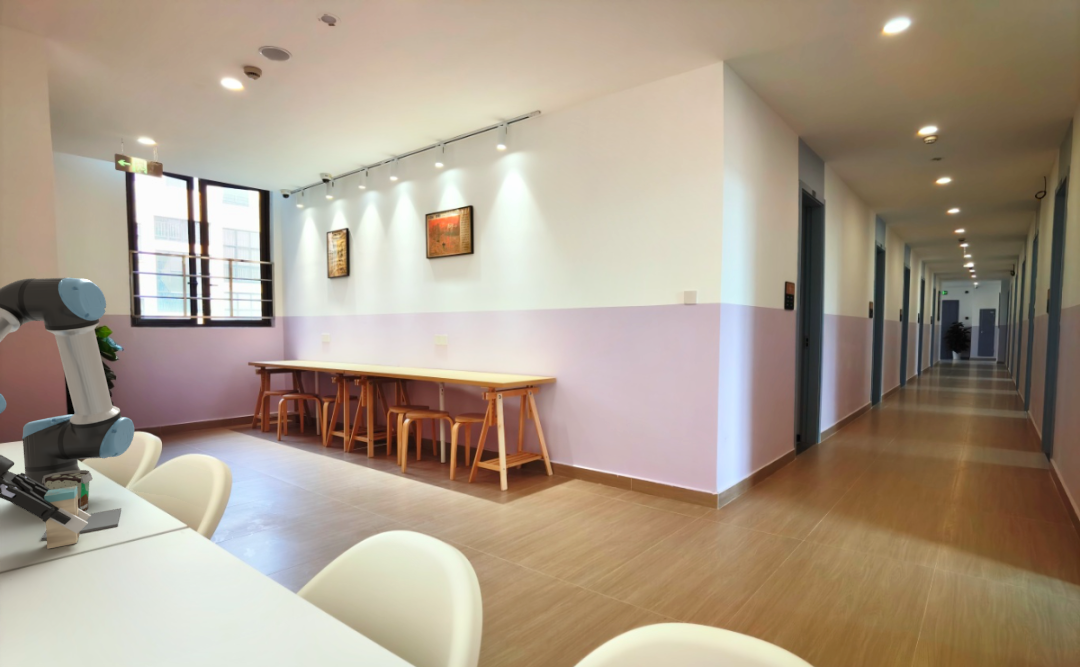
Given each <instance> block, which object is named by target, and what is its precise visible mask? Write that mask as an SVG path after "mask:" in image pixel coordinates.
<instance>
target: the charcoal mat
mask: <svg viewBox="0 0 1080 667" xmlns="http://www.w3.org/2000/svg"><path fill="white" fill-rule="evenodd" d="M121 513H122V508H121V507H120V508H115V509H108V510H104V511H98V512H93V513H92V512H91V513H89V514H90V515H91V516H90V517H89V518H88V519H87V520H86V522H88V524H87V525H86V526H85V527H84V528H83V529H82V530H81V531H80V532H79V535H81V534H85V533H91V532H95V531H99V530H105V529H110V528H115V527H119V522H120V519H121V518H120V517H121ZM40 539H41V541H42V542H43V541H47V533H46V530H45V531H44V533H43V535H42V537H41V538H40Z"/></svg>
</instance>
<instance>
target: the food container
mask: <svg viewBox="0 0 1080 667" xmlns="http://www.w3.org/2000/svg"><path fill="white" fill-rule="evenodd" d="M91 481H93V476H92V473H91V472H90V470H87V469H80V470H74V471H65V472H59V473H53V474H49V475H45V476H43V480H42V483H44V485H45V487H47V488H49V489H51V490H54V489H60V488H67V487H73V486H77V491H78V493H77V497H78V508H79V509H81V510H82V511H84V512H86V511H87V510H88V508H89V495H90V494H89V493H90V482H91Z"/></svg>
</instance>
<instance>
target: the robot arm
mask: <svg viewBox="0 0 1080 667" xmlns="http://www.w3.org/2000/svg"><path fill="white" fill-rule="evenodd" d="M106 308H107V301H106V297H105V294H104V293H103V291H102V290H101V288H100V286H98V285H97V284H96V283H94V282H93V281H91V280H89V279H86V278H75V277H53V278H52V277H51V278H24V279H18V280H16V281H13V282H11V283H8V284H6V285H4V286H2V287H0V343H1V342H2V341H3V340H4V339H5V337H6V336H7V335H8V334H11V333H14V332H17V331H18V330H19V329H20V328H21V326H23V325H24V324H26V323H30V322H34V321H35V322H40V321H41V322H43V324H44V328H45V331H47V332H49V333H51V334H53V335H54V339H55V342H56V345H57V349H58V352H59V355H60V356H59V357H60V360H61V364H62V370H63V372H64V375H65V380H66V384H67V388H68V391H69V392H68V393H69V395H70V399H71V403H72V407H73V411H74V414H64V415H58V416H52V417H47V418H42V419H38V420H33V421H29V422H27V423H25V424H24V426H23V428H22V429H23V430H22V437H21V438H22V446H23V449H22V450H23V462H24V472H21V473H17V474H16V473H14V472H11V471H9V470H10V469H11V468H12V467H14V465H15V462H14V461H13V460H11V459H9V458H8V457H6V456H4V455H3V454H0V499H2V500H5V501H7V502H10V503H12V504H13V505H15V506H17V507H19V508H21V509H23V510H25V511H26V512H28V513H30V514H32V515H34V516H35V517H37V518H38V519H39V518H40V519H41V520H42V522H45V523H46V521H47V520H48V519H51V520H53V521H55V522H56V523H58V524H60V525H62V526H64V527H66V528H68V529H69V530H71V531H73V532H75V533H77V534H78V533H79V532H80V531H81V530H82V529H83V528H84V527H85V526H86V525H87V524H88V522H86V520H87V519H88V518H89V517H90V516H91V515H90V514H91V513H87V512H86V511H82V510H81V509H79V508H78V517H77V516H75V515H74V514H72V513H70V512H68V511H66V510H65V509H63V508H60V509H58V507H56V506H54V505H53V504H51V503H50V502H48V501H46V500H45V499H44V496H45V494H46V493H47V491H48V490H51V489H49V488H47V487H45V485H44V483H42V480H43V476H45V475H49V474H53V473H59V472H65V471H74V470H81V469H80V466H79V463H78V461H79V460H82V459H83V460H85V459H86V460H87V459H107V458H114V457H119V456H120V457H121V455H123V454H124V453H125V452H127V450H128V449H129V448H130V446H131V444H132V442H133V440H134V435H135V424H134V422H133V420H132V419H131V418H129V417H126V416H122V412H121V409H120V407H118V406H115V405H113V402H112V399H111V396H110V395H111V394H110V389H109V386H108V382H107V377H106V374H105V370H104V364H103V360H102V355H101V353H100V347H99V344H98V340H97V336H96V330H95V329H96V328H97V327H98V326H99V325H100V319H101V318H102V317H103V316H104V314H105V313H106ZM6 408H7V401H6V399H5V397H4V395H3V394H2V393H0V415H1V414H2V413H3V412H4V411H5V410H6Z"/></svg>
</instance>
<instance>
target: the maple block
mask: <svg viewBox="0 0 1080 667" xmlns="http://www.w3.org/2000/svg"><path fill="white" fill-rule="evenodd" d="M77 493H78V491H77V486H73V487H67V488H60V489H54V490H48V491H47V493H46V494H45V496H44V499H45V500H46V501H48V502H50V503H51V504H53V505H54V506H56V507H58V509H60V508H63V509H65V510H66V511H68V512H70V513H72V514H74V515H75V516H77V517H78V497H77ZM45 531H46V533H47V540H46V548H47V549H48V550H49V549H54V548H59V547H63V546H69V545H73V544H77V543H78V541H79V538H80V534H79V533H78V534H77V533H75V532H73V531H71V530H69V529H68V528H66V527H64V526H62V525H60V524H58V523H56V522H55V521H53V520H51V519H48V520H47V521H46V522H45Z"/></svg>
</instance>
